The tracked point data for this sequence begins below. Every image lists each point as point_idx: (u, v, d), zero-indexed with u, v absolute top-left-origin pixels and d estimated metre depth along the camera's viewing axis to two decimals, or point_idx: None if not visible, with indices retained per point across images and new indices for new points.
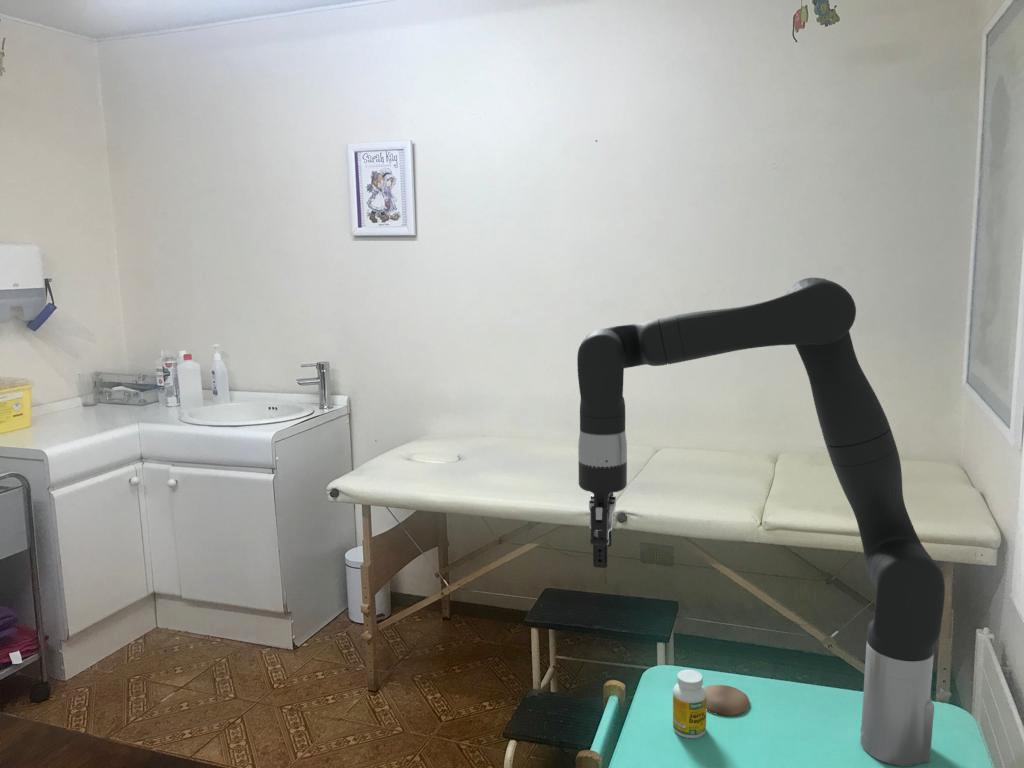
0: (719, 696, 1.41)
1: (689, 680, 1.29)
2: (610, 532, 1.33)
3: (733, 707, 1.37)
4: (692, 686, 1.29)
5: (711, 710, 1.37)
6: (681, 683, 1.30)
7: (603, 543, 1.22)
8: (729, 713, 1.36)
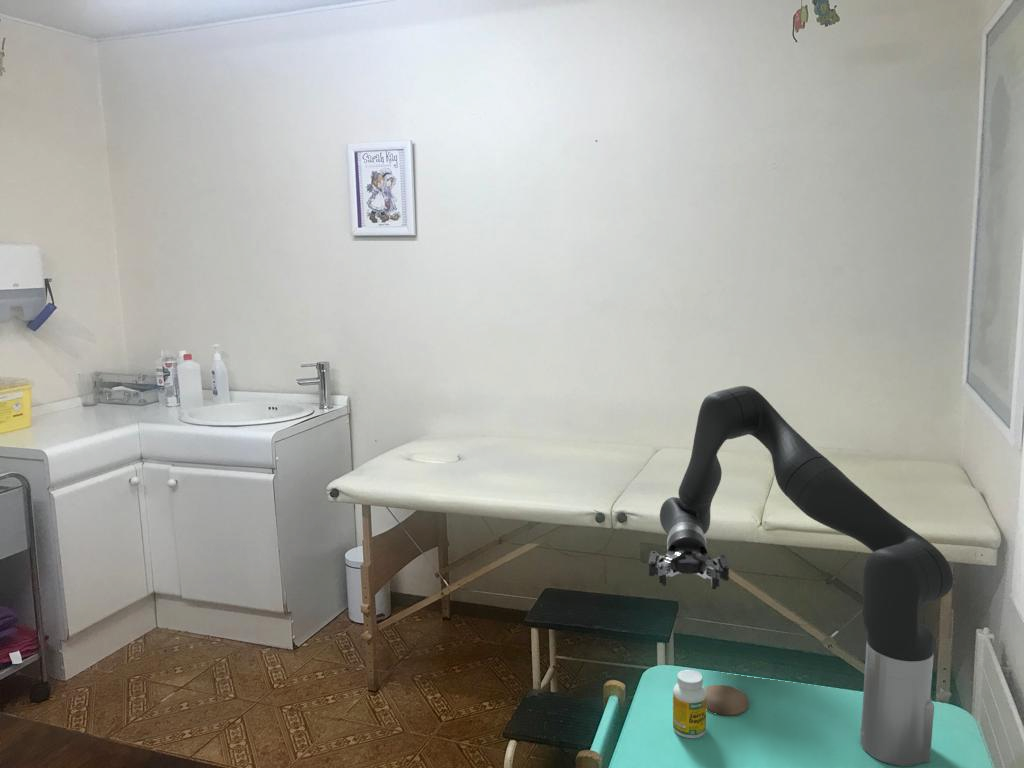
0: (719, 696, 1.41)
1: (689, 680, 1.29)
2: (711, 572, 1.43)
3: (733, 707, 1.37)
4: (693, 686, 1.29)
5: (711, 710, 1.37)
6: (681, 683, 1.30)
7: (648, 564, 1.47)
8: (729, 713, 1.36)
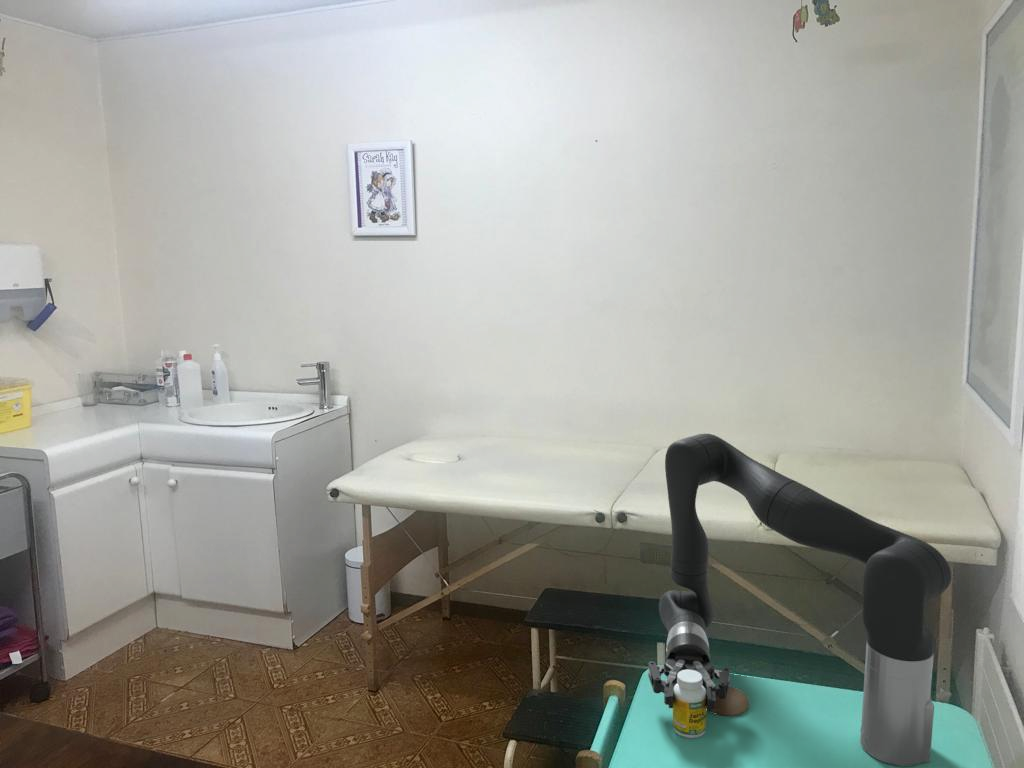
0: None
1: (689, 680, 1.29)
2: (706, 692, 1.31)
3: (733, 707, 1.37)
4: (692, 686, 1.29)
5: (711, 710, 1.37)
6: (681, 683, 1.30)
7: (654, 681, 1.34)
8: (729, 713, 1.36)
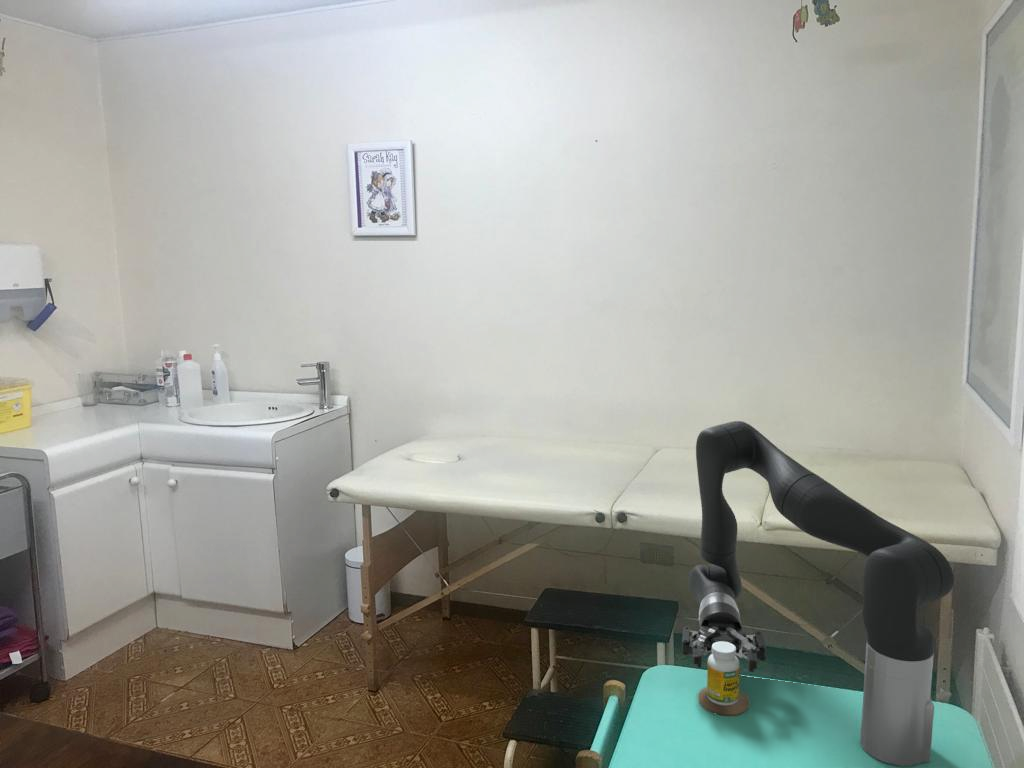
0: None
1: (723, 651, 1.37)
2: (748, 653, 1.38)
3: (733, 707, 1.37)
4: (727, 656, 1.36)
5: (711, 710, 1.37)
6: (716, 653, 1.37)
7: (682, 643, 1.43)
8: (729, 713, 1.36)
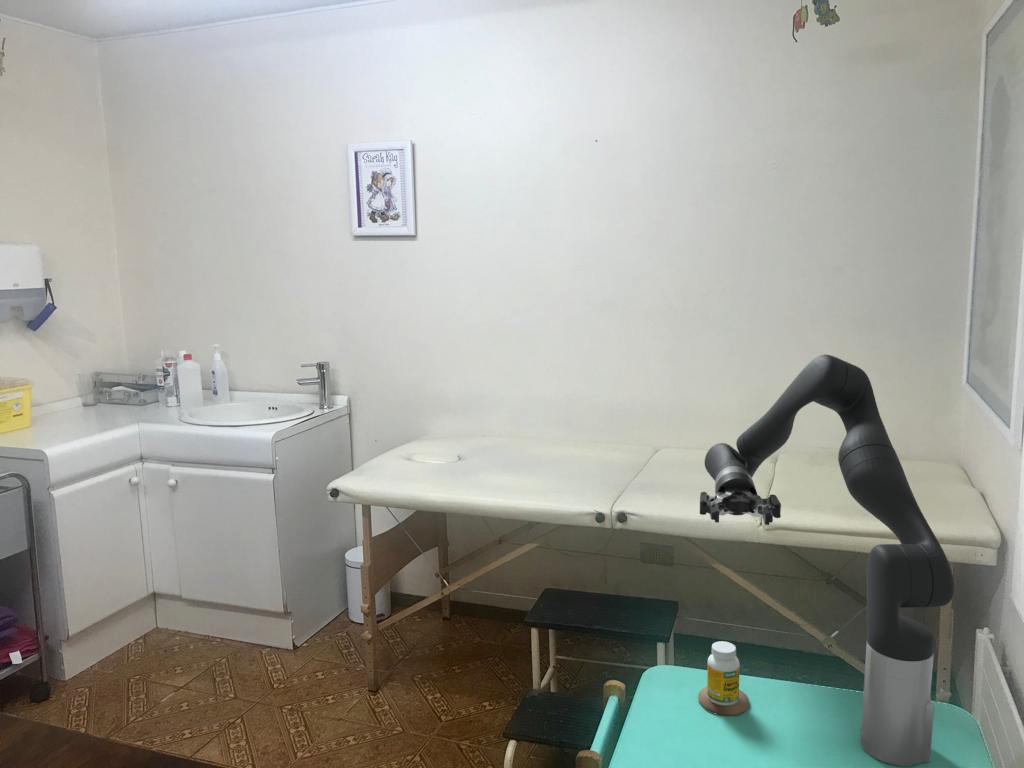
0: None
1: (723, 651, 1.37)
2: (764, 509, 1.44)
3: (733, 707, 1.37)
4: (727, 656, 1.36)
5: (711, 710, 1.37)
6: (716, 653, 1.37)
7: (700, 503, 1.49)
8: (729, 713, 1.36)
